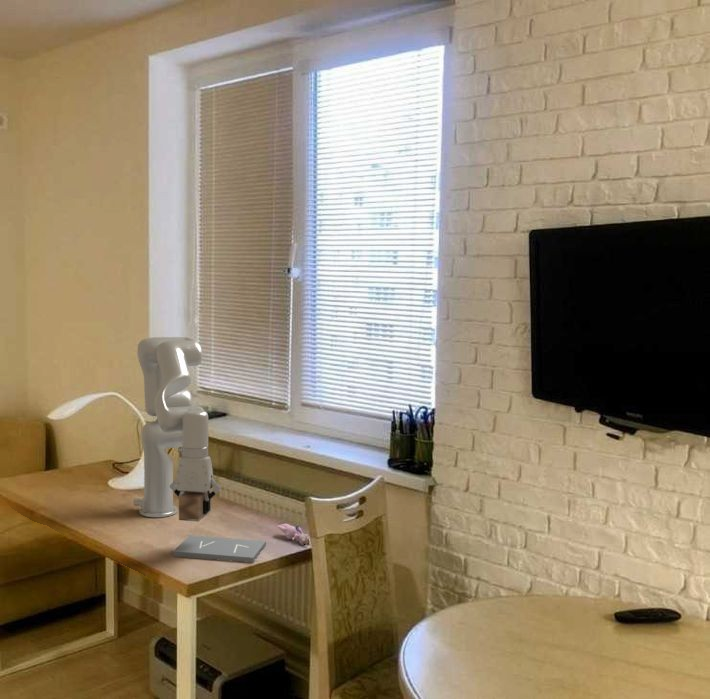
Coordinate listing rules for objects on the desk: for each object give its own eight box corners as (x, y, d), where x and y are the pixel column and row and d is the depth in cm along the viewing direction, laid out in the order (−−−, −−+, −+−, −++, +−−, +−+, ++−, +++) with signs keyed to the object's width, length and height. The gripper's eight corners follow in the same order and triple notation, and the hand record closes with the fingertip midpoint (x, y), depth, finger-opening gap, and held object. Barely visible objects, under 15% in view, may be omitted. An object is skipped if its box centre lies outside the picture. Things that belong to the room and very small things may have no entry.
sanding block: (178, 520, 226) (178, 496, 225) (191, 510, 236) (191, 487, 235) (198, 521, 225) (198, 497, 224) (210, 511, 235) (210, 489, 234)
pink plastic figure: (316, 547, 239) (285, 528, 249) (319, 530, 238) (287, 511, 248) (301, 552, 235) (270, 532, 245) (304, 534, 234) (272, 515, 244)
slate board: (172, 556, 225) (172, 551, 225) (189, 540, 239) (189, 535, 239) (253, 562, 222) (253, 557, 222) (265, 546, 236) (265, 541, 236)
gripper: (162, 453, 226) (162, 514, 228) (219, 456, 224) (219, 517, 225) (172, 448, 234) (172, 507, 235) (227, 451, 231) (227, 510, 233)
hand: (195, 511), depth 230 cm, fingers closed on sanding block, 6 cm apart
